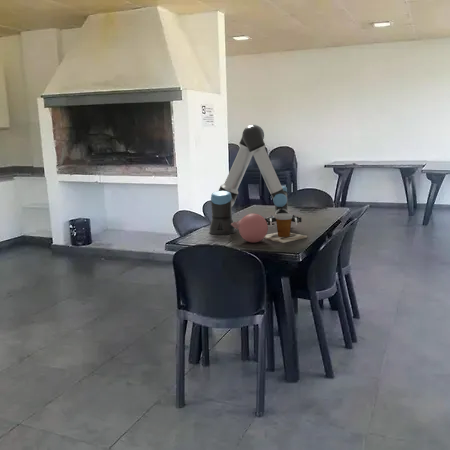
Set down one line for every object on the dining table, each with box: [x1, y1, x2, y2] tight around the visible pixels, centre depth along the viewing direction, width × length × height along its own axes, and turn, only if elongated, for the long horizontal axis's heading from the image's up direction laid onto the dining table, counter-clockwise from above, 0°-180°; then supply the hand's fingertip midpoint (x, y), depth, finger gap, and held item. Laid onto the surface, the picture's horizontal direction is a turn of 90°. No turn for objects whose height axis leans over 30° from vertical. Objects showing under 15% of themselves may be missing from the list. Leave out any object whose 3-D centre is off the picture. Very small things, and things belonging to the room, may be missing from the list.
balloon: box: [231, 212, 269, 244], centre depth 278 cm, size 15×20×15 cm
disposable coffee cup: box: [274, 212, 293, 237], centre depth 286 cm, size 10×10×12 cm
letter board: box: [263, 231, 308, 244], centre depth 287 cm, size 18×18×1 cm
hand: (283, 222), depth 282 cm, fingers open, 13 cm apart
